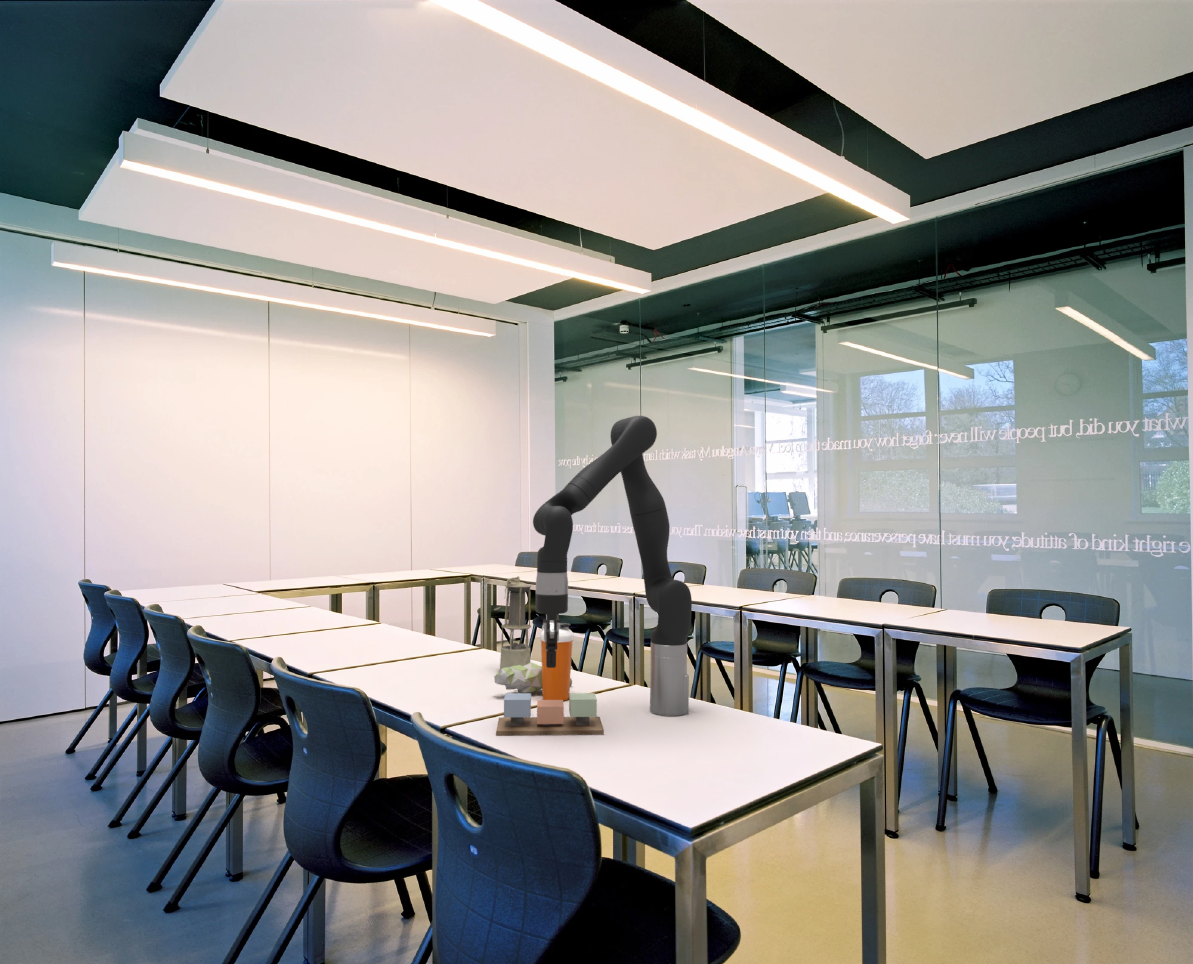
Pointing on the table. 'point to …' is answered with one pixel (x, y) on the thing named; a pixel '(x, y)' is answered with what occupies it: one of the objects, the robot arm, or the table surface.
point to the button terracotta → (550, 712)
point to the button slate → (517, 705)
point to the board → (549, 726)
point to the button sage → (582, 705)
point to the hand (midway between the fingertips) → (551, 666)
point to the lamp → (515, 624)
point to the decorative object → (521, 678)
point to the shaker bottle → (557, 666)
